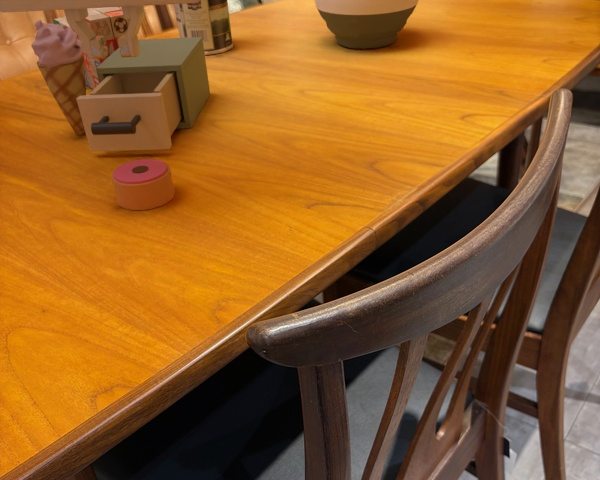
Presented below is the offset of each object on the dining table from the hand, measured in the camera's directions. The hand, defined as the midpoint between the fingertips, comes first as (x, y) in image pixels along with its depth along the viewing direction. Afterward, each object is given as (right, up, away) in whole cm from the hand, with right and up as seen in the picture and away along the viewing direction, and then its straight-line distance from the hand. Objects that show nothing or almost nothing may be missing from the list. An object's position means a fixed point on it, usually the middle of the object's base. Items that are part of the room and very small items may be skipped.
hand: (115, 56), depth 60 cm
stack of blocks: (-15, +13, +45) cm, 49 cm away
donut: (+1, -12, +9) cm, 15 cm away
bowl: (+31, +25, +57) cm, 70 cm away
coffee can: (0, +25, +60) cm, 65 cm away
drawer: (-3, -2, +22) cm, 22 cm away
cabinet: (-2, +4, +32) cm, 32 cm away
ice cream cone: (-13, 0, +27) cm, 30 cm away
